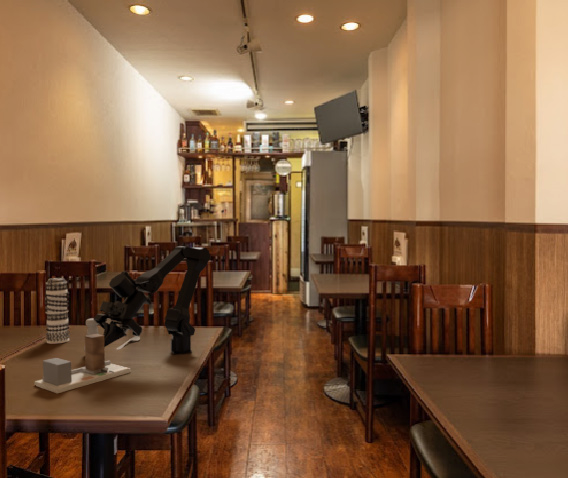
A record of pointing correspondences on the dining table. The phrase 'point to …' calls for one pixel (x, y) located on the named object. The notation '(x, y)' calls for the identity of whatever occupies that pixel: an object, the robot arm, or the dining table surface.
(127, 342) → the spoon
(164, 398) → the dining table surface
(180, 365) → the dining table surface
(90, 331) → the salt shaker
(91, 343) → the gauge slider
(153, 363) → the dining table surface
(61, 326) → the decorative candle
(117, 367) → the gauge board
